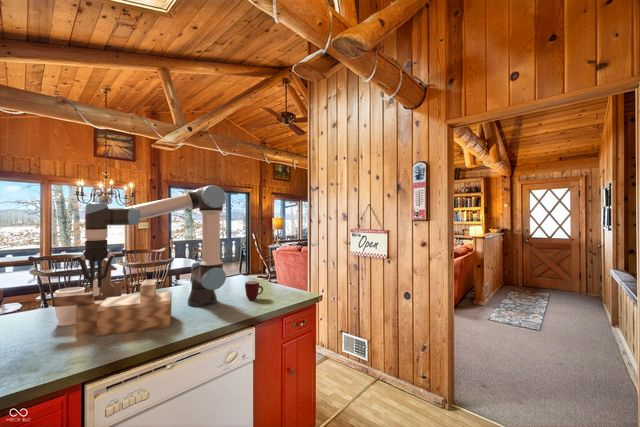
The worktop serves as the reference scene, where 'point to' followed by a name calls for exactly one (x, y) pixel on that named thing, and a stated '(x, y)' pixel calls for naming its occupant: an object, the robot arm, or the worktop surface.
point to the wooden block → (74, 299)
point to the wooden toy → (108, 285)
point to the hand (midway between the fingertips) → (96, 295)
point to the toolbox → (120, 319)
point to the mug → (252, 289)
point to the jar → (67, 307)
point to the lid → (137, 298)
